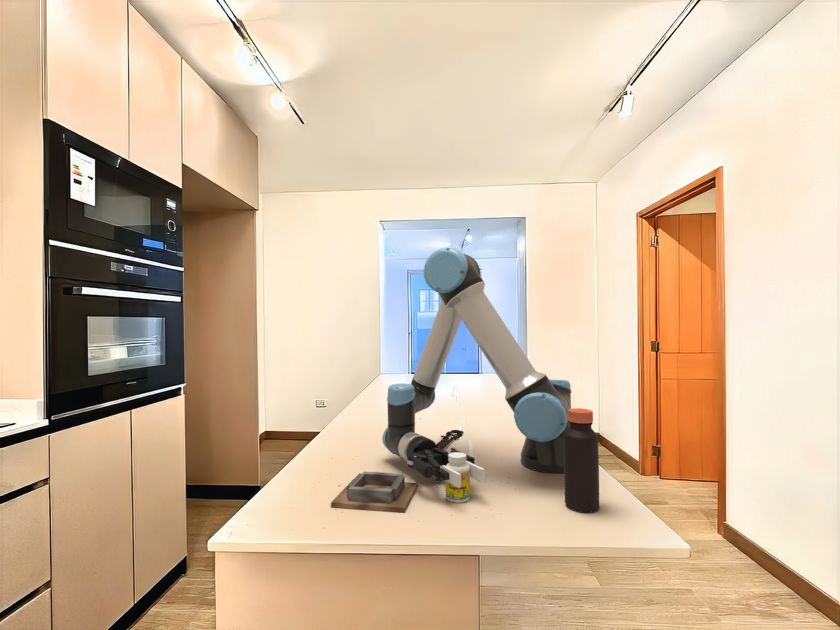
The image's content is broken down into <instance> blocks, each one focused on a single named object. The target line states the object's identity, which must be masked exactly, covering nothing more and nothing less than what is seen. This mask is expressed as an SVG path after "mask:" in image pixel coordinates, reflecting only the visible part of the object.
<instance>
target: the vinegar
mask: <svg viewBox="0 0 840 630" xmlns="http://www.w3.org/2000/svg"><path fill="white" fill-rule="evenodd" d="M568 421H569V423H570V427H569V428H568V429H567V430H566V431H565V433H564V475H563V477H564V504H565V506H566V507H567V508H568V509H570V510H571V511H575V512H578V513H587V514H588V513H594V512H597V511H598V510H599V509H600V466H599V464H600V463H599V462H600V461H599V459H600V457H599V436H598V434H597V433H596V432H595V431H594V429H593V428H592V426H593V424H594V423H593V422H594V411H593V410H591V409H587V408H577V407H575V408H571V409H569V410H568Z"/></svg>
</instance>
